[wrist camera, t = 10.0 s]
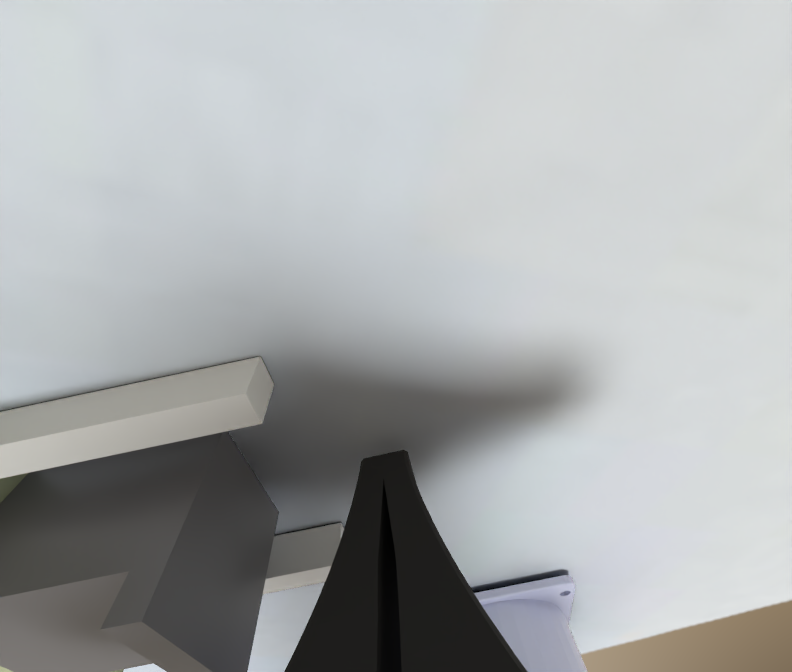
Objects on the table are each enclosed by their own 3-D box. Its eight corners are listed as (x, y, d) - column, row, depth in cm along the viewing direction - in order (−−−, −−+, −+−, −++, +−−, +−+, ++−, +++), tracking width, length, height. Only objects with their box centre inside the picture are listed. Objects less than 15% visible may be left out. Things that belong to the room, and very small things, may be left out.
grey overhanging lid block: (279, 508, 13) (242, 693, 9) (123, 540, 13) (14, 737, 9) (226, 423, 11) (142, 621, 7) (37, 463, 11) (-167, 682, 7)
